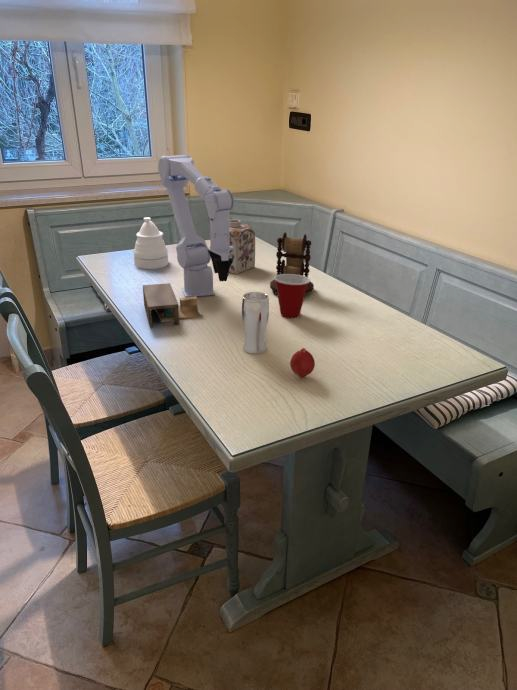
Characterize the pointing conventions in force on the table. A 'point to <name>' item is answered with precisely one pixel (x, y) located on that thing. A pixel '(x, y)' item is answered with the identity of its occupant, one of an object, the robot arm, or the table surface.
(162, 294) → the wooden caddy
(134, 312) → the table surface
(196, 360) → the table surface
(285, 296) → the plastic cup
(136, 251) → the honey pot
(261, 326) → the beer glass
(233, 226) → the decorative jar
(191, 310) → the tray
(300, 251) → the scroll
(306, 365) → the onion
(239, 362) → the table surface
